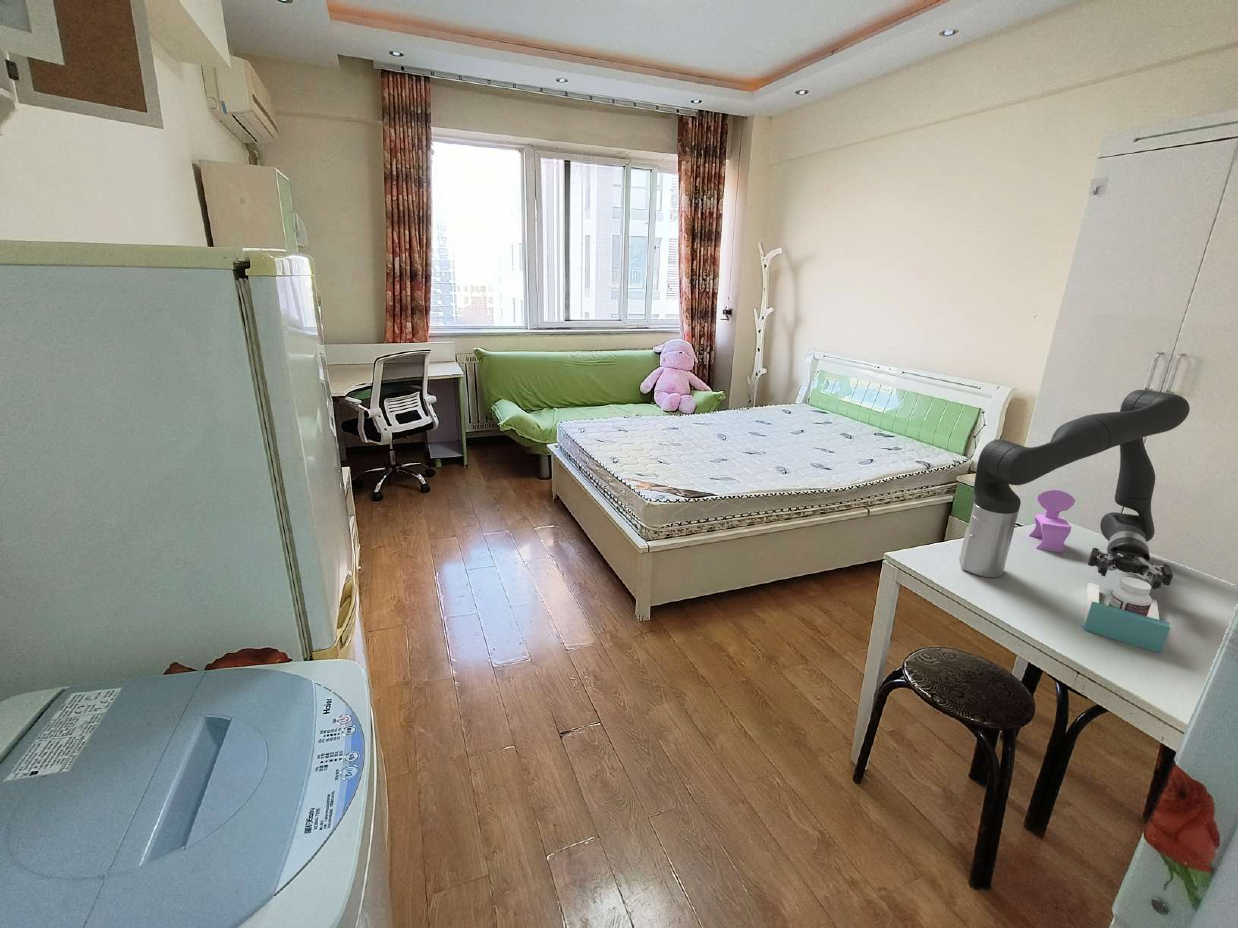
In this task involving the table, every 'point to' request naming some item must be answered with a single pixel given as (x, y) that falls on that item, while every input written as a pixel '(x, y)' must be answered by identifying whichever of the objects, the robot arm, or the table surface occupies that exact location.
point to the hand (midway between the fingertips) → (1129, 578)
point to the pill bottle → (1132, 596)
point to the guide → (1125, 623)
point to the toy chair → (1053, 520)
